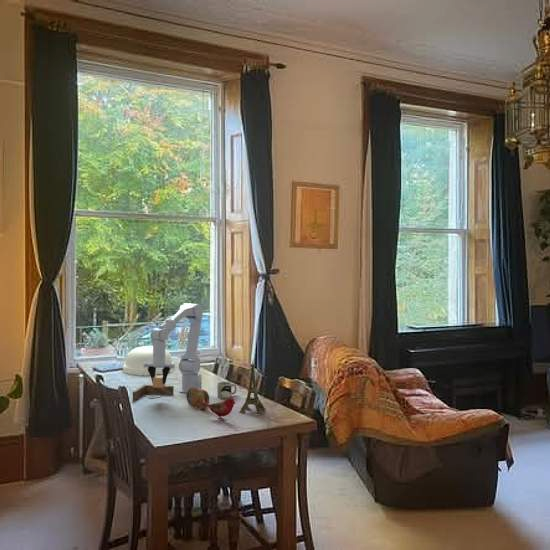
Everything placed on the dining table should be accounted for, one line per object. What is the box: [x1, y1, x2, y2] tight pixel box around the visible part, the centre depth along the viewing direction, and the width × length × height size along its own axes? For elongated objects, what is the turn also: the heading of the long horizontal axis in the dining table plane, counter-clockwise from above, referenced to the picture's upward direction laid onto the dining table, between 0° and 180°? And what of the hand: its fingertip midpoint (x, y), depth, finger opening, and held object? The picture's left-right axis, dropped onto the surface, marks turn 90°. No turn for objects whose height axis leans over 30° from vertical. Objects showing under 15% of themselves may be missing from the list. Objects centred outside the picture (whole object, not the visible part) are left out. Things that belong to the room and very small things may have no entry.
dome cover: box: [122, 345, 175, 376], centre depth 330 cm, size 32×30×14 cm
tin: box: [186, 388, 210, 410], centre depth 250 cm, size 15×3×8 cm, turn 40°
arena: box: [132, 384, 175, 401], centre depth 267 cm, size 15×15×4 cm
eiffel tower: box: [238, 360, 266, 416], centre depth 245 cm, size 11×11×25 cm
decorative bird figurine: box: [201, 397, 237, 421], centre depth 232 cm, size 3×18×10 cm, turn 61°
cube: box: [152, 375, 166, 388], centre depth 261 cm, size 4×4×4 cm
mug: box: [216, 381, 238, 400], centre depth 270 cm, size 10×7×7 cm
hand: (159, 382), depth 261 cm, fingers closed on cube, 4 cm apart
